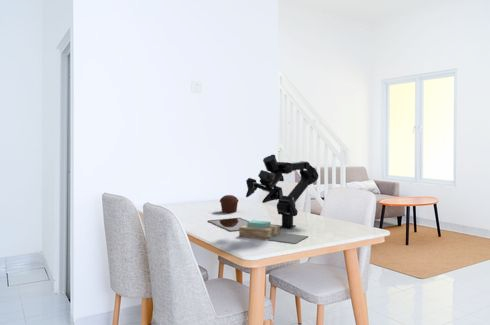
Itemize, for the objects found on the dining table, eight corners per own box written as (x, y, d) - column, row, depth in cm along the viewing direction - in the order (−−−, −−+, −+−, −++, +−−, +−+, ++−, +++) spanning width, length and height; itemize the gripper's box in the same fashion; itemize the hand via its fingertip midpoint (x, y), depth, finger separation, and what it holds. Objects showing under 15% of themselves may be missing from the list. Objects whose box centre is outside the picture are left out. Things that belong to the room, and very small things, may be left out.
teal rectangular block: (253, 224, 201) (253, 219, 201) (270, 226, 197) (270, 221, 196) (247, 226, 196) (247, 222, 196) (264, 228, 191) (264, 224, 191)
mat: (281, 233, 199) (281, 232, 199) (308, 236, 192) (308, 236, 192) (267, 240, 186) (267, 239, 186) (295, 244, 179) (295, 243, 179)
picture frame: (264, 228, 212) (239, 219, 236) (264, 226, 212) (239, 217, 236) (230, 232, 203) (207, 222, 227) (230, 230, 203) (207, 220, 227)
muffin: (237, 210, 264) (237, 194, 264) (239, 213, 253) (239, 196, 253) (218, 210, 263) (218, 194, 262) (220, 213, 252) (220, 196, 251)
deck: (253, 230, 206) (253, 222, 205) (279, 233, 199) (280, 225, 199) (239, 236, 194) (239, 227, 193) (266, 239, 187) (266, 230, 186)
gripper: (253, 161, 203) (235, 180, 194) (287, 170, 193) (269, 191, 184) (257, 179, 210) (239, 198, 200) (289, 189, 200) (272, 210, 190)
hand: (254, 199), depth 194 cm, fingers open, 9 cm apart
